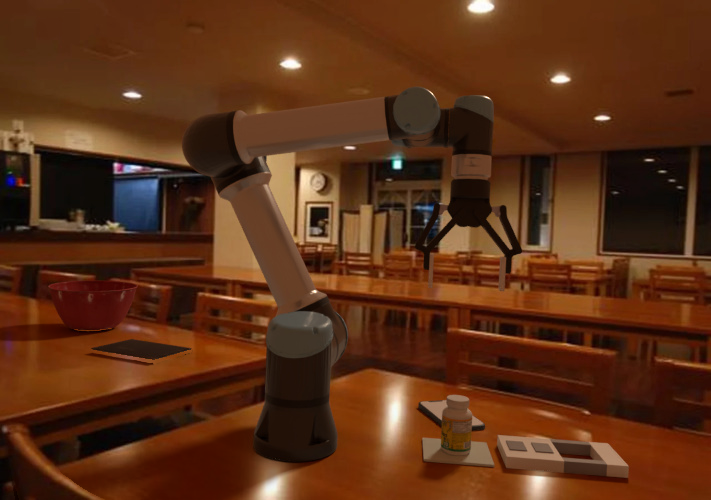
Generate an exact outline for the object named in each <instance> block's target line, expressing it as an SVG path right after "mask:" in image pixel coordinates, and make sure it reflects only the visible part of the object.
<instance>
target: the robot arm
mask: <svg viewBox="0 0 711 500" xmlns="http://www.w3.org/2000/svg"><path fill="white" fill-rule="evenodd" d="M494 108H495V107H494V102H493V100H492V99H491V98H490V97H488V96H486V95H479V94H478V95H476V94H470V95H462V96H459V97H456V98H455V100H454V104H453V106H452V107H440V105H439V101H438V99H437V98H436V96H435V95H434V94H433V92H432V91H430V90H429V89H427V88H425V87H423V86H412V87H408V88H406V89H404V90H403V91H402V92H400V93H399V94H394V95H388V96H381V97H380V96H378V97H372V98H364V99H357V100H351V101H343V102H337V103H336V102H335V103H327V104H320V105H314V106H313V105H312V106H305V107H300V108H290V109H283V110H276V111H275V110H274V111H268V112H259V113H253V114H247V113H246V112H244V111H243V110H242V109H241V110H240V109H239V110H238V109H237V110H231V111H224V112H222V111H221V112H214V113H207V114H204V115H200V116H199V117H197V118H194V120H192V121H191V122H190V123H189V124H188V126H186V129H184V132H183V134H182V139H181V149H182V153H183V154H182V155H183V157H184V159H185V161H186V162H187V164H188V165H189V166H190V167H191V168H192V169H193V170H194V171H196V172H197V173H199V174H201V175H203V176H206V177H210V178H211V179H210V180H211V181H212V183H213V186H214V187H215V191H216V193H217V194H218V196H219V198H220V199H223V200H225V201H227V202H229V203H230V204H231V206H232V209H233V211H234V214H235V216H236V218H237V220H238V222H239V224H240V226H241V229H242V231H243V233H244V236H245V239H246V240H247V243H248V244H249V247H250V249H251V251H252V253H253V256H254V257H255V261H256V262H257V265H258V266H259V269H260V272H261V273H262V275H263V278H264V279H265V282H266V284H267V286H268V288H269V292H270V293H271V295H272V297H273V299H274V302H275V304H276V306H277V310H276V314H275V316H274V317H273V318H272V319H270V321H269V322H268V326H267V333H266V334H265V336H266V337H265V344H266V351H265V352H266V354H265V381H264V383H265V384H264V387H265V388H264V403H263V406H262V409H261V412H260V414H259V417H258V420H257V423H256V425H255V428H254V431H253V436H252V437H253V441H252V442H253V443H252V447H253V449H254V451H255V452H256V453H257V454H259V455H261V456H262V457H265V458H267V459H270V460H276V461H279V462H280V461H281V462H290V463H291V462H292V463H293V462H294V463H297V462H300V463H301V462H309V461H315V460H316V461H317V460H320V459H324V458H325V457H327V456H328V457H329V456H330V455H332V454H333V453H335V451H336V450H337V448H338V435H339V434H338V430H337V427H336V423H335V419H334V416H333V412H332V408H331V404H330V396H331V395H330V391H331V374H332V373H331V371H332V367H333V366H335V363H337V362H338V361H339V360H340V359H341V358H342V356H343V355H344V353H345V351H346V348H347V345H348V340H349V331H348V327H347V324H346V322H345V320H344V318H343V317H342V316H341V315H340V314H339V313H338V312H337V311H336V310H334V308H333V305H332V303H331V301H330V299H329V297H328V295H327V293H325V292H321V291H319V290H318V289H317V288H316V286H315V283H314V282H313V281H314V280H313V279H312V277H311V275H310V272H309V270H308V269H307V266H306V264H305V261H304V260H303V258H302V255H301V253H300V251H299V249H298V246H297V244H296V242H295V240H294V238H293V236H292V233H291V231H290V229H289V227H288V224H287V223H286V220H285V218H284V216H283V214H282V212H281V210H280V207H279V205H278V203H277V201H276V199H275V196H274V194H273V192H272V190H271V187H270V182H271V180H272V176H273V174H272V172H271V170H270V167H269V165H268V163H267V158H268V157H269V156H274V155H275V156H276V155H282V154H283V155H284V154H291V153H298V152H299V153H300V152H306V151H316V150H322V149H323V150H324V149H329V148H330V149H331V148H337V147H338V148H339V147H345V146H353V145H362V144H370V143H377V142H384V141H385V142H386V141H391V142H390V143H392V145H393V146H394V147H400V148H407V149H412V148H444V149H445V148H452V149H451V150H452V153H451V154H452V156H451V169H450V170H451V173H450V175H451V178H453V179H452V180H451V181H450V190H449V191H450V196H449V197H450V198H449V203H448V204H442V203H439V202H435V203H434V204H433V207H432V214H431V216H430V218H429V219H428V221H427V224H425V227H424V228H423V231H422V232H421V234H420V236H419V238H418V239H417V241H416V242H415V244H414V248H415V250H418V251H419V252H421V253H422V254H423V262H422V263H423V270H424V271H428V281H427V282H428V286H427V287H428V288H430V289H431V288H432V289H433V282H434V280H433V279H434V261H435V259H434V258H435V253H431V251H432V250H434V248H435V247H437V245H438V244H439V243H440V242H441V241H442V240H443V239H444V238H445V237H446V236H447V234H448V233H449V232H450V231H451V230H452V229H453V228H454V227H455V226H457V227H459V228H468V227H470V228H479V227H482V228H483V230H484V231H485V232H486V234H487V235H488V236H489V237H490V239H491V240H492V241H493V242H494V244H495V245H496V246H497V248H498V249H499V250H500V252H502V254H503V255H504V256H500V257H499V272H498V288H497V290H498V292H505V289H506V287H505V286H506V275H507V274H508V275H509V274H511V272H512V260H513V257H514V256H517V255H521V254H523V249H522V247H521V244H520V242H519V240H518V238H517V235H516V233H515V230H514V229H513V227H512V224H511V222H510V220H509V217H508V211H507V208H508V207H507V206H506V205H505V204H502V205H497V206H492V205H491V200H490V199H491V184H492V182H490V178H491V176H492V157H493V156H492V155H493V141H494V129H495V128H494V124H495V120H494V116H495V115H494V113H495V112H494V111H495V110H494ZM488 179H489V180H488ZM445 211H447V213H448V214H449V215H450V217H451V219H450V220H449V221H448V222H447V223H446V225H445V226H444V227H443V228H442V229H441V230H440V231H439V232H438V233H437V234H436V235H435V236H434V238H432V239H431V241H430V242H428V244H427V245H424V243H425V241H426V240H427V237H429V234H430V232H431V231H432V230H433V229H432V228H433V227H434V225H435V224H436V222H437V220H438V218H439V216H442V215H443V214H444V212H445ZM492 213H494V215H495V217H497V218H499V222H500V224H501V227H502V228H503V231H504V233H505V235H506V237H507V239H508V242H509V244H510V246H511V248H510V247H508V246H507V244H506V243H505V242H504V240H503V239H502V238H501V236H500V235H499V234H498V233H497V231H496V230H495V229H494V228H493V226H492V225H491V223H490V222H489V221H488V220H487V219H488V218H489V216H490V215H491V214H492Z"/></svg>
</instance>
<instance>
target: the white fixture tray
mask: <svg viewBox="0 0 711 500" xmlns="http://www.w3.org/2000/svg"><path fill="white" fill-rule="evenodd" d="M496 442H497V443H496V447H497V449H498V451H499V453H500V456H501V458H502V461H503V464H504V466H505V468H506V469H513V470H514V469H516V470H523V471H524V470H525V471H539V472H550V473H564V474H575V475H584V476H585V475H587V476H598V477H612V478H613V477H614V478H615V477H616V478H623V479H624V478H625V479H628V478H629V470H630V469H629V468H630V466H629V465H628V463H626V461H624V459H623V458H622V457H621V456H620V455H619V453H617V451H616V450H615V449H613V447H612V446H611V445H610V444H609V443H607V442H595V441H584V440H583V441H582V440H581V441H580V440H568V439H553V438H543V437H542V438H541V437H530V436H529V437H527V436H516V435H505V434H503V435H502V434H501V435H500V434H497V441H496ZM561 454H563V455H564V454H565V455H576V456H577V455H578V456H588V457H589V456H590V458H592V459H586V458H573V457H563V456H561Z"/></svg>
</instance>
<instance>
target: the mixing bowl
mask: <svg viewBox="0 0 711 500" xmlns="http://www.w3.org/2000/svg"><path fill="white" fill-rule="evenodd" d="M138 287H139V285H138V284H136V283H132V282H126V281H117V280H73V281H72V280H70V281H62V282H55V283H51V284H49V285H48V286H47V288H48V289H49V293H50V297H51V300H52V303H53V305H54V307H55V311H56V313H57V315H58V316H59V318H60V320H61V321H62V323H63V324H64V325H65V326H67V328H69V329H71V328H72V329H78V330H100V329H108V328H113V327H114V328H116V327H118V326H119V325H120V324H121V323H122V322H123V321H124V320H125V318H126V316H127V314H128V312H129V311H130V309H131V307H132V304H133V301H134V299H135V295H136V291H137V288H138ZM114 328H113V329H114ZM72 329H71V330H72Z"/></svg>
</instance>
